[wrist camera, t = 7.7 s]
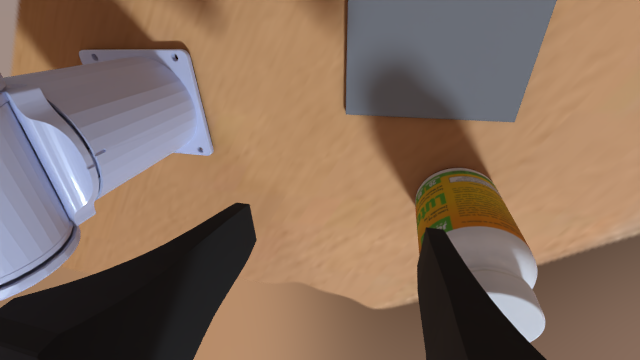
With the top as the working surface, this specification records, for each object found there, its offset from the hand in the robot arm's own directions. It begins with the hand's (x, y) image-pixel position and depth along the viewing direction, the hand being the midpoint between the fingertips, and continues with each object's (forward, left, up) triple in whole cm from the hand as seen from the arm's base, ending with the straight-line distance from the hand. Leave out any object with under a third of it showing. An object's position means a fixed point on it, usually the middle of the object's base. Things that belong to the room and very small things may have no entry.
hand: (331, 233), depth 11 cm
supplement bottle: (+7, -4, -10) cm, 13 cm away
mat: (+4, +7, -10) cm, 13 cm away
